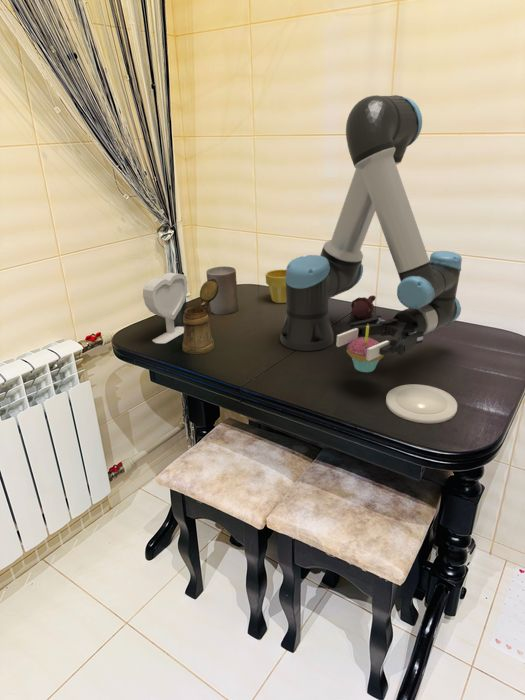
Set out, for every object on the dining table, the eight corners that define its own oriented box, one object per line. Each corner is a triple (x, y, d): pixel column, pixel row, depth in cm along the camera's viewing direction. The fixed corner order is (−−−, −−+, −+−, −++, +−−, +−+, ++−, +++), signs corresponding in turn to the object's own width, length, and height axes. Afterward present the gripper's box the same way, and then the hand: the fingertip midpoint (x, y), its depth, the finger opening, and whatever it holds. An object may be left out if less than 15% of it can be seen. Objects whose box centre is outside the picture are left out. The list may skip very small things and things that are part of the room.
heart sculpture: (160, 345, 144) (153, 285, 137) (147, 342, 147) (139, 283, 139) (193, 327, 157) (188, 270, 149) (180, 324, 159) (174, 268, 151)
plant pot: (267, 295, 182) (267, 268, 178) (296, 295, 181) (296, 268, 177) (265, 305, 173) (264, 277, 169) (295, 305, 172) (295, 277, 168)
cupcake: (382, 377, 113) (388, 328, 108) (344, 374, 115) (347, 326, 109) (382, 360, 121) (387, 313, 115) (346, 357, 122) (349, 311, 117)
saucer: (378, 414, 109) (378, 409, 108) (394, 383, 121) (394, 378, 120) (451, 430, 103) (452, 425, 102) (460, 395, 115) (461, 391, 114)
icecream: (365, 308, 150) (386, 298, 161) (344, 298, 153) (366, 288, 164) (358, 328, 153) (378, 317, 164) (337, 318, 156) (359, 307, 168)
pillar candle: (241, 305, 173) (239, 262, 167) (233, 315, 164) (230, 270, 158) (214, 304, 175) (211, 262, 169) (205, 314, 167) (201, 270, 160)
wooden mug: (230, 339, 147) (227, 280, 139) (200, 357, 137) (194, 294, 129) (207, 333, 152) (202, 275, 144) (175, 350, 142) (169, 288, 134)
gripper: (449, 350, 119) (388, 380, 106) (379, 323, 134) (318, 347, 121) (455, 321, 116) (392, 348, 103) (382, 296, 131) (319, 318, 118)
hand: (352, 347), depth 112 cm, fingers closed on cupcake, 8 cm apart
